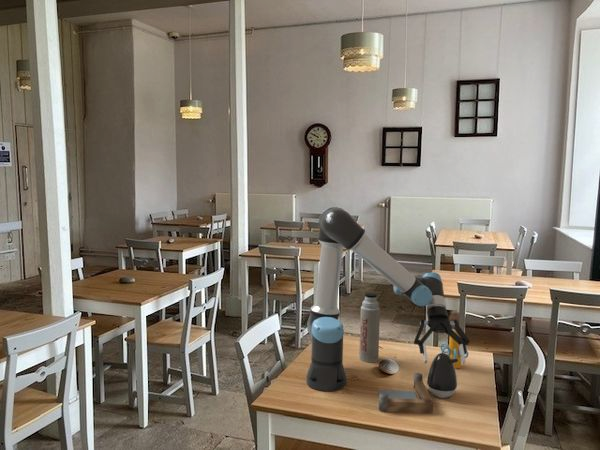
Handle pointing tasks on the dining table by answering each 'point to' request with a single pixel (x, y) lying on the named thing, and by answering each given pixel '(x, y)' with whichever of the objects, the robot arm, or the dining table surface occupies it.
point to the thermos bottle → (369, 329)
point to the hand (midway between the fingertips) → (444, 362)
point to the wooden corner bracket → (408, 400)
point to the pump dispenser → (442, 376)
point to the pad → (399, 394)
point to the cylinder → (453, 351)
